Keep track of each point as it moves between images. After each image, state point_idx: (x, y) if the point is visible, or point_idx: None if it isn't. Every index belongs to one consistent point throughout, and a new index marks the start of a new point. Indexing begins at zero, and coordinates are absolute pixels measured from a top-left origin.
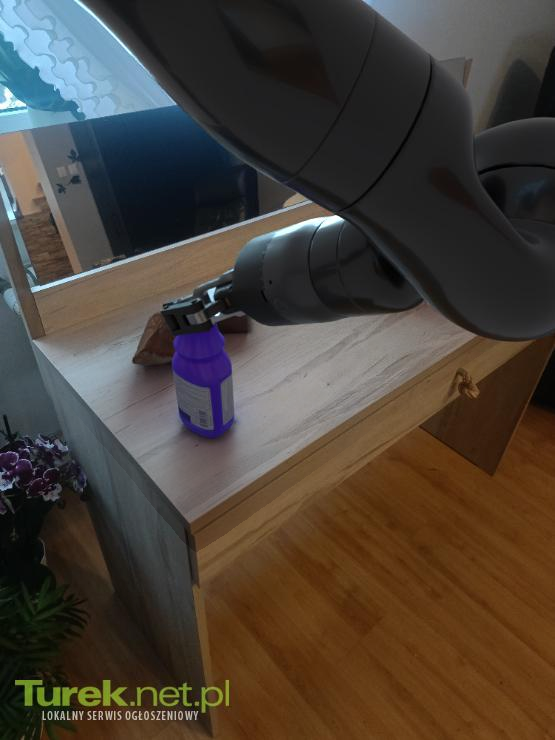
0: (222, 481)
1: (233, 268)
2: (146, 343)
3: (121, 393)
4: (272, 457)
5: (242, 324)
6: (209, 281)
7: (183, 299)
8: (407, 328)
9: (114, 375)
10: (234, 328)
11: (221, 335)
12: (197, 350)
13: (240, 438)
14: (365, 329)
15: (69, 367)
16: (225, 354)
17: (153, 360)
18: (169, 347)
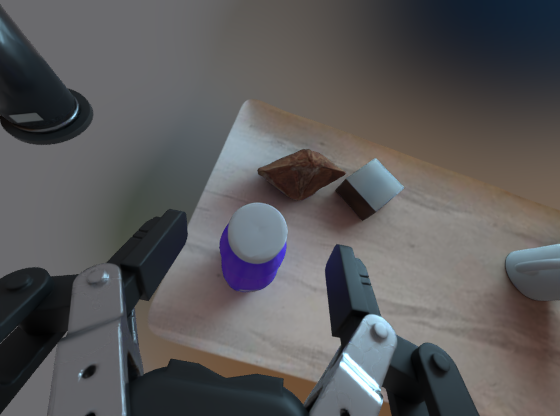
0: (192, 327)
1: (340, 258)
2: (272, 168)
3: (235, 181)
4: (242, 351)
5: (363, 213)
6: (117, 367)
7: (74, 301)
8: (484, 361)
9: (249, 163)
10: (355, 209)
11: (276, 263)
12: (228, 260)
13: (246, 305)
14: (448, 319)
15: (237, 131)
16: (268, 276)
17: (270, 182)
18: (289, 184)
